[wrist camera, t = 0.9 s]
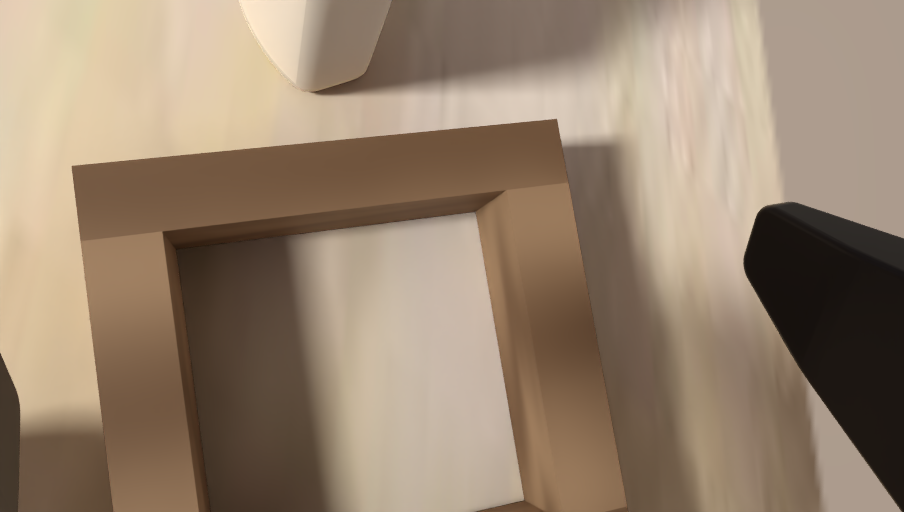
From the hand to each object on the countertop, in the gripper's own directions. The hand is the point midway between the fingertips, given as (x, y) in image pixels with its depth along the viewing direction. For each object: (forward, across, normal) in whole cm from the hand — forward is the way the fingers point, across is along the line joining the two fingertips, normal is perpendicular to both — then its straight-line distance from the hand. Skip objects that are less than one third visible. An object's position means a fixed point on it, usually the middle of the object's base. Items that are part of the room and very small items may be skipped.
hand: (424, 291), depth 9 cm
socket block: (+9, 0, +10) cm, 13 cm away
